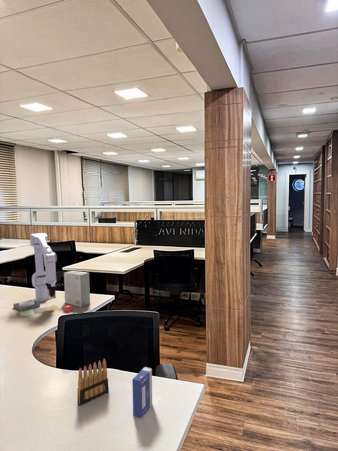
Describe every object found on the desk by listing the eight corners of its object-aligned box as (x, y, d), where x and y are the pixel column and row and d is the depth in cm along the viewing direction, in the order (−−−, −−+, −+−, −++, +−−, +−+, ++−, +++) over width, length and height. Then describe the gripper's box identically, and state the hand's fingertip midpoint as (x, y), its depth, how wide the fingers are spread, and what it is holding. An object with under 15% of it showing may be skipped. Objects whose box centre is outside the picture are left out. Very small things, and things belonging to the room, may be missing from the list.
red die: (67, 310, 192) (67, 304, 192) (71, 310, 191) (71, 305, 191) (64, 312, 189) (63, 306, 189) (68, 312, 188) (68, 306, 188)
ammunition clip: (80, 406, 103) (78, 370, 102) (77, 403, 104) (76, 367, 103) (109, 392, 110) (108, 358, 109) (106, 390, 111) (105, 356, 110)
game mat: (56, 305, 201) (56, 305, 201) (59, 309, 193) (59, 309, 193) (19, 311, 190) (19, 311, 190) (21, 316, 183) (21, 316, 183)
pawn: (54, 296, 197) (54, 288, 197) (55, 298, 194) (55, 290, 194) (47, 297, 195) (47, 289, 195) (48, 299, 192) (48, 291, 192)
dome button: (30, 303, 204) (29, 299, 204) (37, 306, 198) (37, 302, 198) (15, 307, 197) (15, 303, 197) (22, 310, 191) (22, 306, 191)
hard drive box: (90, 303, 204) (89, 272, 202) (81, 307, 197) (80, 275, 196) (73, 300, 212) (72, 270, 210) (64, 303, 206) (63, 272, 204)
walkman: (141, 418, 97) (140, 380, 96) (133, 415, 98) (132, 378, 97) (153, 403, 104) (152, 367, 103) (145, 401, 105) (144, 365, 104)
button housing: (30, 303, 206) (30, 299, 205) (39, 307, 199) (39, 303, 198) (13, 308, 197) (13, 304, 197) (22, 312, 190) (21, 307, 190)
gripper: (41, 271, 198) (42, 293, 199) (45, 276, 185) (46, 299, 186) (53, 270, 201) (54, 291, 202) (58, 275, 189) (59, 297, 190)
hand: (51, 295), depth 195 cm, fingers closed on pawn, 4 cm apart
